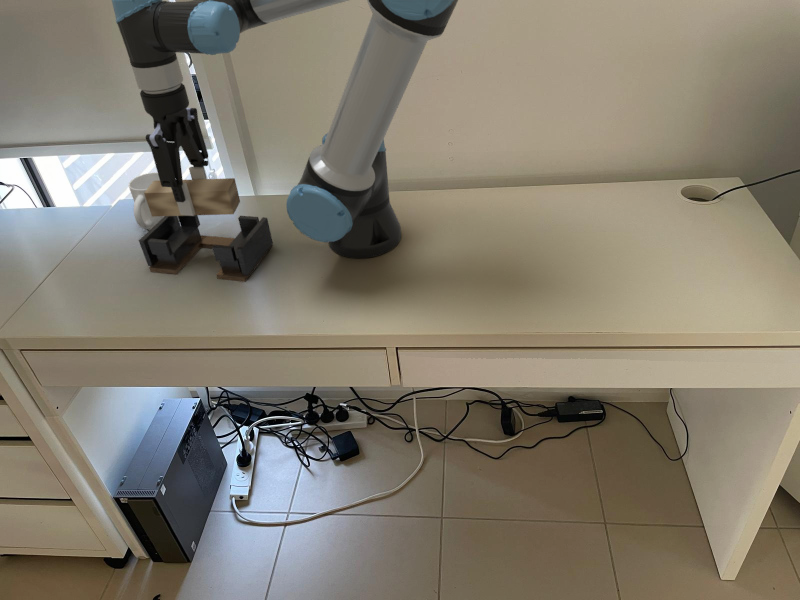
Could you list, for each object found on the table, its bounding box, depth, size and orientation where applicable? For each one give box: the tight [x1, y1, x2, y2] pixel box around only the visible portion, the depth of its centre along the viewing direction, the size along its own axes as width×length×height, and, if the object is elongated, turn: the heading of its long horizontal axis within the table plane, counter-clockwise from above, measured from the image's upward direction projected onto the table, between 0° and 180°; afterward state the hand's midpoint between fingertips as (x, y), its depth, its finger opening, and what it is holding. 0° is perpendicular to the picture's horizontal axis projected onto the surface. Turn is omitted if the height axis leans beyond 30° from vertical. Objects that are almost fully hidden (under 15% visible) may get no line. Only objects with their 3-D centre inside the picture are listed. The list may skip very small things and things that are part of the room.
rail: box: [144, 177, 241, 216], centre depth 122 cm, size 16×5×5 cm, turn 87°
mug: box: [128, 172, 179, 230], centre depth 140 cm, size 12×8×10 cm
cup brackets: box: [138, 215, 274, 283], centre depth 129 cm, size 22×13×7 cm, turn 75°
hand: (196, 205), depth 123 cm, fingers closed on rail, 6 cm apart
